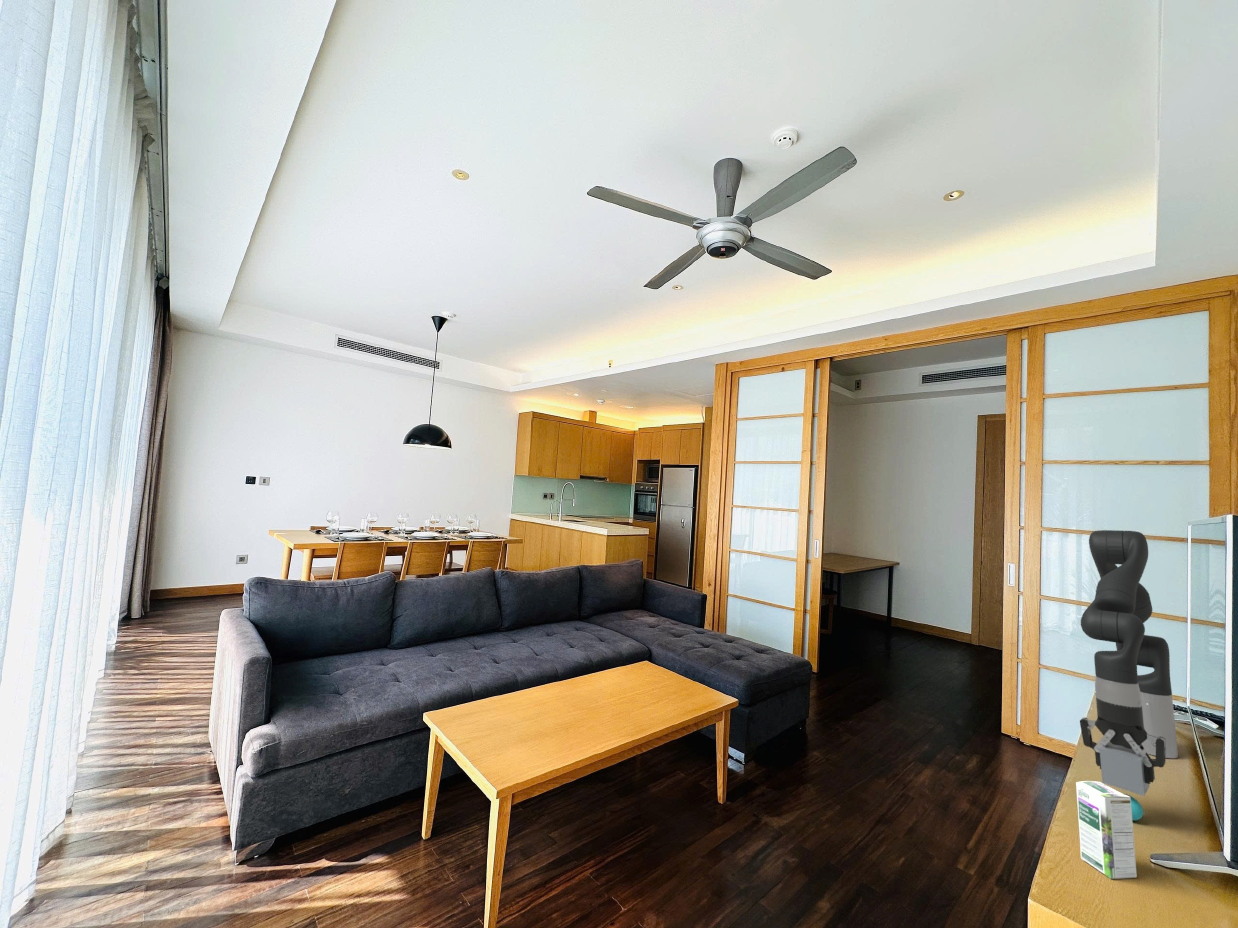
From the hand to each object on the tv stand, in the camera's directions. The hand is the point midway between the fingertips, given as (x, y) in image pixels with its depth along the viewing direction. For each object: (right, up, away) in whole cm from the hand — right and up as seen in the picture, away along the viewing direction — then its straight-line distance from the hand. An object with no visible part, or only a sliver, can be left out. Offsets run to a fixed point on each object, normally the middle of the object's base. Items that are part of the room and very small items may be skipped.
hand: (1124, 775), depth 112 cm
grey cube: (0, -2, 0) cm, 2 cm away
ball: (-1, -6, -1) cm, 7 cm away
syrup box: (-21, -7, -18) cm, 28 cm away
